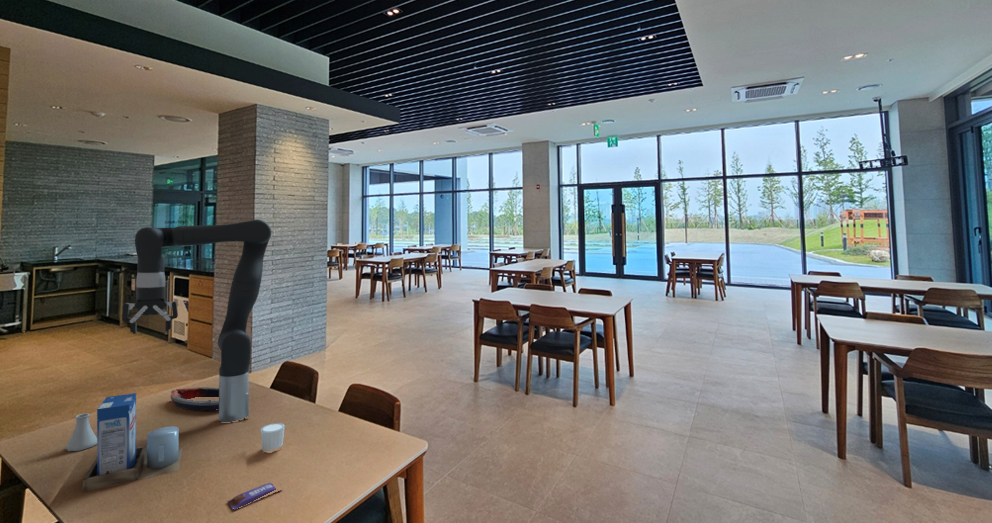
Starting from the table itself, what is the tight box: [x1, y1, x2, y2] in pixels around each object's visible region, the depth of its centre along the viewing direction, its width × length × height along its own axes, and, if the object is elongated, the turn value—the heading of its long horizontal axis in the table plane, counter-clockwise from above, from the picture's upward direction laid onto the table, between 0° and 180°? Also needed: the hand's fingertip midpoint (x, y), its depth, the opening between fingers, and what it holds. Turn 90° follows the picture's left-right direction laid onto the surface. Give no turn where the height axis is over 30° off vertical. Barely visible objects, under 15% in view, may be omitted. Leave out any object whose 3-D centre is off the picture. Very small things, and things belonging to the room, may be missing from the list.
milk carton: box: [96, 392, 137, 476], centre depth 110 cm, size 10×6×20 cm, turn 34°
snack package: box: [226, 482, 276, 511], centre depth 103 cm, size 12×2×5 cm
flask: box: [65, 412, 97, 452], centre depth 126 cm, size 7×7×10 cm
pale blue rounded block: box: [146, 426, 180, 469], centre depth 115 cm, size 7×8×9 cm
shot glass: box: [260, 422, 286, 451], centre depth 127 cm, size 7×7×7 cm
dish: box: [170, 386, 219, 411], centre depth 161 cm, size 16×31×5 cm, turn 72°
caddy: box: [82, 445, 184, 493], centre depth 112 cm, size 19×15×4 cm
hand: (151, 332), depth 137 cm, fingers open, 8 cm apart
